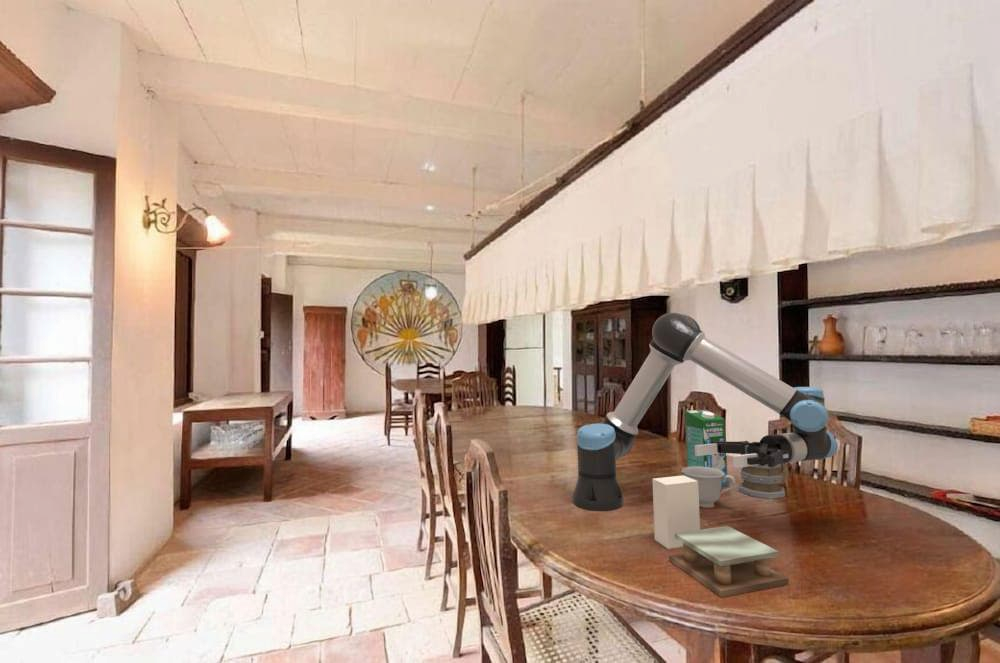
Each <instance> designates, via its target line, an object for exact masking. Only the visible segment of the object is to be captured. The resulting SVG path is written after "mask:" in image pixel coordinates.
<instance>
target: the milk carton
mask: <svg viewBox="0 0 1000 663" xmlns="http://www.w3.org/2000/svg"><path fill="white" fill-rule="evenodd" d="M684 416H685V441H686V442H685V443H686V444H685V445H686V463H687V464H686V465H687V466H686V467H691V466H702V467H711V468H715V469H719V470H721V471H723V472H724V473H725V475H724V476H723V477H722V478H723V479H724V478H725V476H726V475H728V468H727V465H728V464H727V453H718V454H716V455H714V454H712V455H703V456H695V445H703V444H711V441H720V442H726V425H725V424H726V423H725V422H726V421H725V418H724V417H721V416H719V415H718V414H716V413H714V412H711V411H710V410H708V409H695V410H694V409H693V410H692V409H691V410H685V411H684ZM724 486H728V479H726V482H725V483H724V482H722V483H721V487H724Z"/></svg>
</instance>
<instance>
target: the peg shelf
mask: <svg viewBox="0 0 1000 663" xmlns="http://www.w3.org/2000/svg"><path fill="white" fill-rule="evenodd" d="M675 538H676V539H677V540H679V541H680V542H682V543H683V547H682V552H681V553H674V554H669V555H668V560H669V562H670V563H672V564H674V566H676V567H677V568H679V569H680V570H681V571H683V572H685V573H686V574H688V575H689V576H691V578H693V579H695V580H696V581H697V582H698V583H700V584H701V585H702V586H704V587H706V588H707V589H709V590H710V592H711V591H712V592H713V593H714V594H716V595H717V596H718V597H720V598H725V597H731V596H736V595H742V594H746V593H752V592H757V591H763V590H767V589H772V588H779V587H783V586H787V585H790V584H789V583H790V582H789V578H788V577H787V576H785V575H783V574H781V573H779V572H778V571H776V570H774V569H772V568H771V558H772V559H773V558H777V557H780V551H779V550H777V549H775V548H772V547H771V546H769V545H767V544H765V543H763V542H761V541H759V540H756V539H755V538H753V537H751V536H749V535H747V534H744V533H743V532H740V531H739V530H736V529H734V528H732V527H731V526H729V525H725V526H716V527H711V528H704V529H700V530H695V531H689V532H682V533H675Z"/></svg>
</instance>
